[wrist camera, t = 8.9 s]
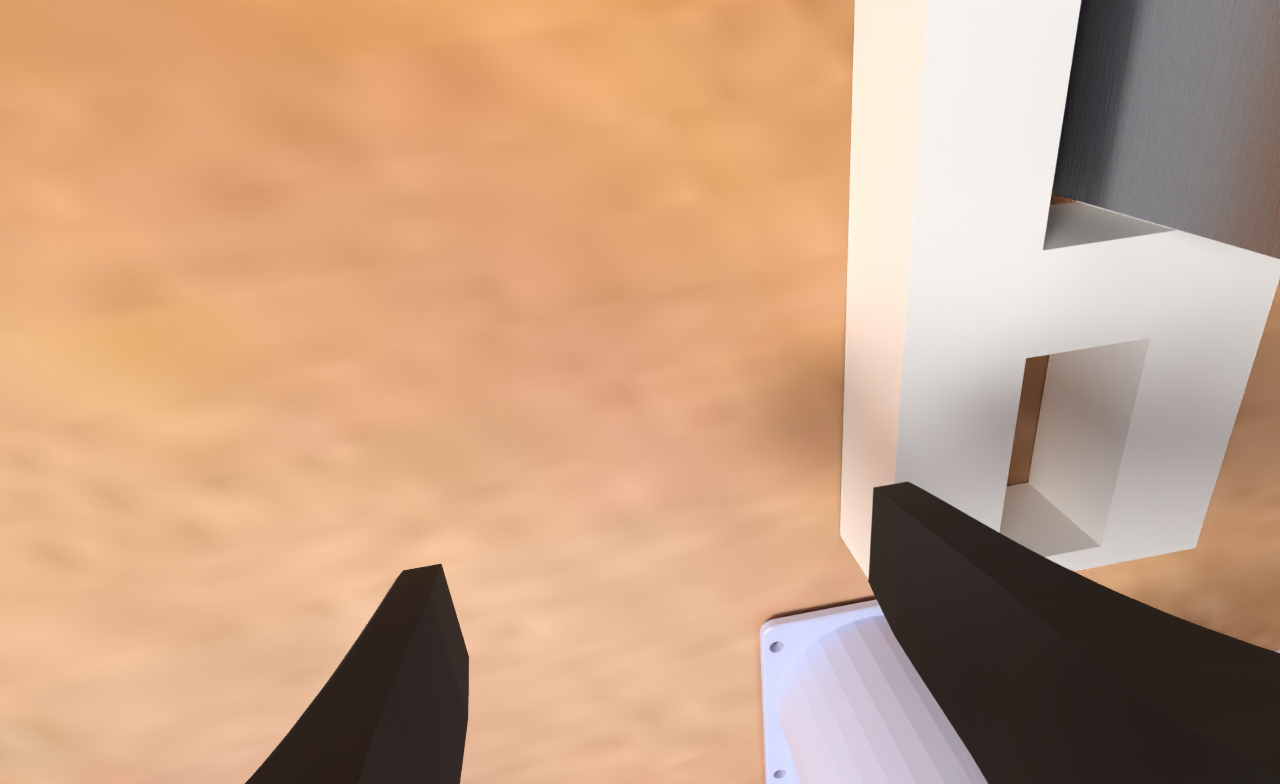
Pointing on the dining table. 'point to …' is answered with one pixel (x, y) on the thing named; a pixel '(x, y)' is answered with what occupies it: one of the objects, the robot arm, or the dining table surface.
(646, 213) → the dining table surface
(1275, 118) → the gray rectangular block
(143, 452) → the dining table surface
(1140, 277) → the white board with holes
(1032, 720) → the robot arm
